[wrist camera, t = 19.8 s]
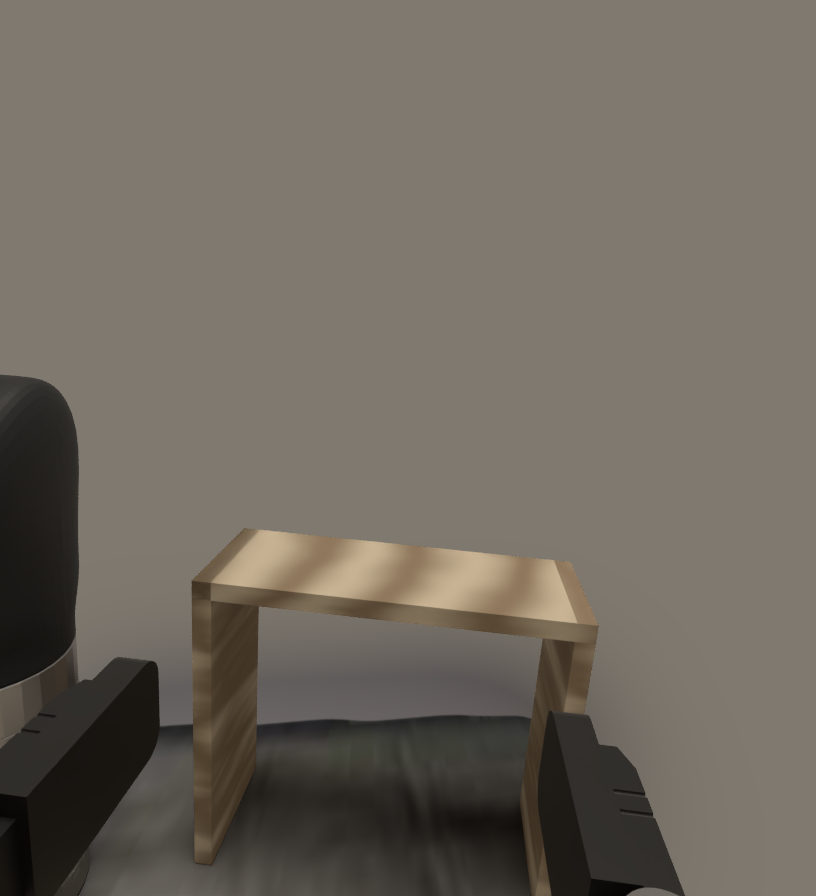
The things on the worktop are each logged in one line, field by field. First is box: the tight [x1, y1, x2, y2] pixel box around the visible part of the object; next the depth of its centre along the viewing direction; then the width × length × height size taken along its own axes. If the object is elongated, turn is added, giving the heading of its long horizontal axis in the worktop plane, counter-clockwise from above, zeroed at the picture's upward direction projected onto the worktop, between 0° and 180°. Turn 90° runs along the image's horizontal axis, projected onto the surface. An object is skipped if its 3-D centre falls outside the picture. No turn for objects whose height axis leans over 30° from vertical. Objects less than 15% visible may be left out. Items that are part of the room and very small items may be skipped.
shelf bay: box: [192, 528, 599, 896], centre depth 42 cm, size 24×9×21 cm, turn 85°
